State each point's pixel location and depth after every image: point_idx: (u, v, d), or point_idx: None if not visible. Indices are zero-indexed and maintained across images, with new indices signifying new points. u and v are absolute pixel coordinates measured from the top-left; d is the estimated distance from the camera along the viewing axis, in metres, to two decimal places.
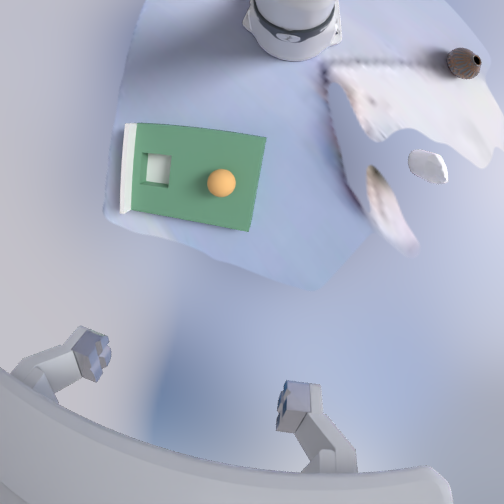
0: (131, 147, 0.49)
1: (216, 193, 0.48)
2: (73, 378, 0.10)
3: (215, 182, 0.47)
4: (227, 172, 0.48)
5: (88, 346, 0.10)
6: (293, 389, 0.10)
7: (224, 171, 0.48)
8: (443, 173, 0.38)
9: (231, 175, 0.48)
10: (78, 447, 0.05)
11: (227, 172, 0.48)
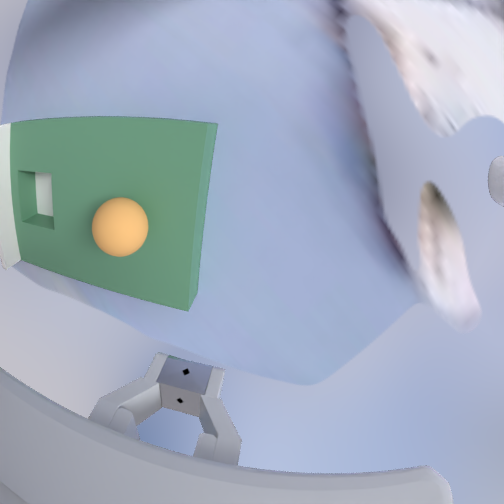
0: (2, 164, 0.22)
1: (106, 252, 0.21)
2: (153, 410, 0.10)
3: (98, 230, 0.20)
4: (124, 206, 0.21)
5: (176, 376, 0.10)
6: (193, 370, 0.10)
7: (118, 204, 0.21)
8: None
9: (134, 212, 0.21)
10: (78, 447, 0.05)
11: (124, 207, 0.21)
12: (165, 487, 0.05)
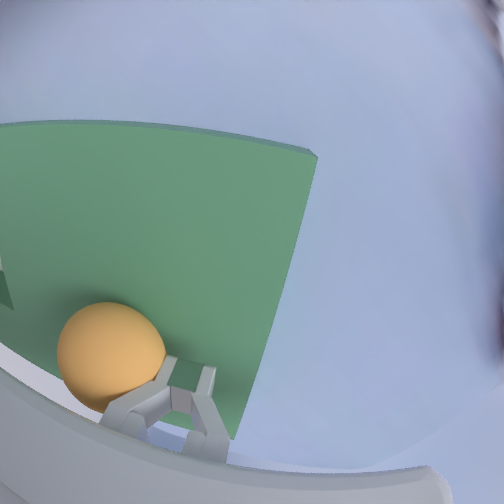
0: None
1: None
2: (163, 413, 0.10)
3: (68, 383, 0.08)
4: (115, 343, 0.09)
5: (186, 378, 0.10)
6: (184, 367, 0.10)
7: (101, 337, 0.09)
8: None
9: (137, 355, 0.09)
10: (78, 447, 0.05)
11: (114, 346, 0.09)
12: (165, 487, 0.05)
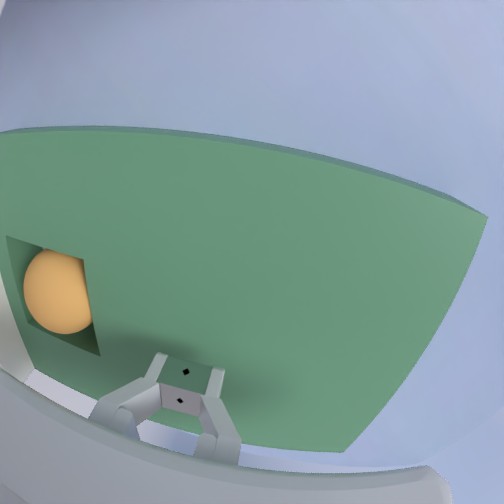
0: None
1: None
2: (153, 410, 0.10)
3: None
4: None
5: (176, 376, 0.10)
6: (193, 370, 0.10)
7: None
8: None
9: None
10: (78, 447, 0.05)
11: None
12: (165, 487, 0.05)
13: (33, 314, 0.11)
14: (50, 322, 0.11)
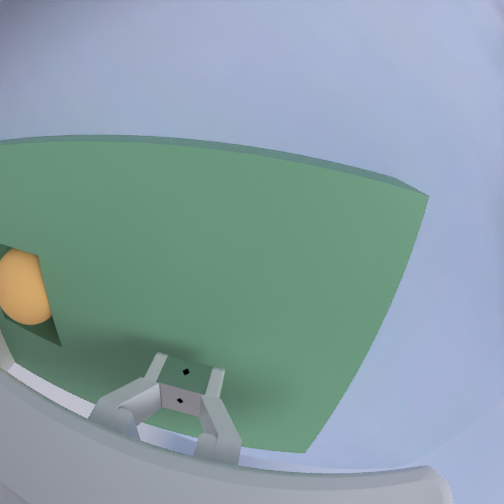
0: None
1: None
2: (153, 410, 0.10)
3: None
4: None
5: (176, 376, 0.10)
6: (193, 370, 0.10)
7: None
8: None
9: None
10: (78, 447, 0.05)
11: None
12: (165, 487, 0.05)
13: (1, 305, 0.12)
14: (13, 312, 0.12)
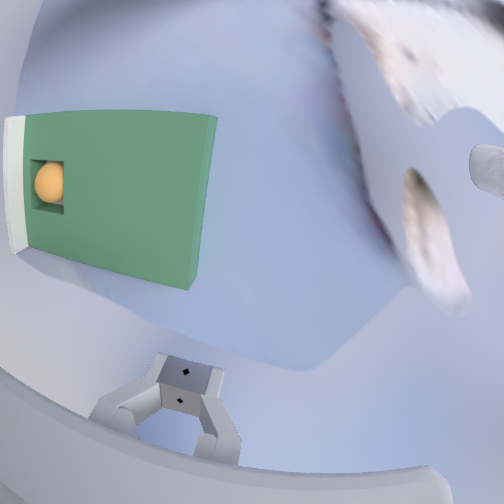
0: (16, 153, 0.25)
1: None
2: (153, 410, 0.10)
3: None
4: None
5: (176, 376, 0.10)
6: (193, 370, 0.10)
7: None
8: None
9: None
10: (78, 447, 0.05)
11: None
12: (165, 487, 0.05)
13: (36, 188, 0.26)
14: (43, 190, 0.26)
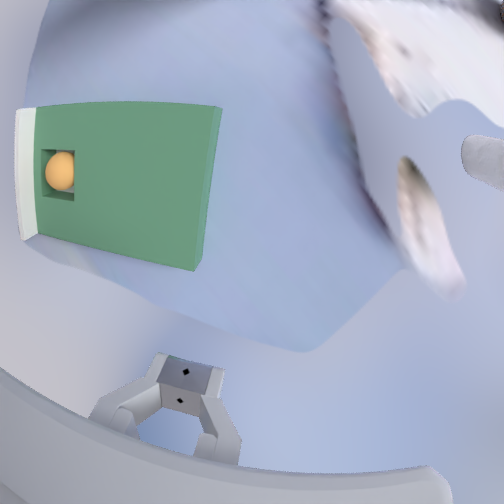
0: (27, 143, 0.26)
1: None
2: (153, 410, 0.10)
3: None
4: None
5: (176, 376, 0.10)
6: (193, 370, 0.10)
7: None
8: None
9: None
10: (78, 447, 0.05)
11: None
12: (165, 487, 0.05)
13: (47, 176, 0.27)
14: (54, 177, 0.27)
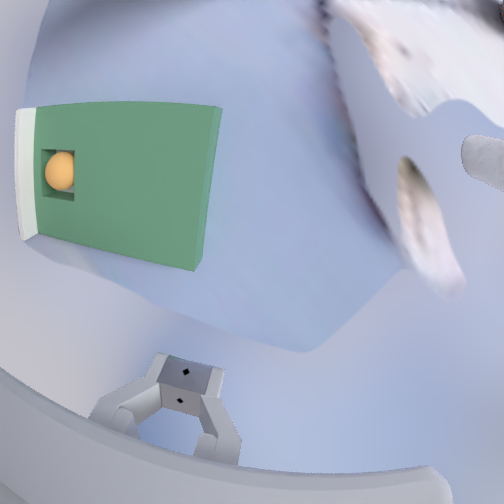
0: (27, 143, 0.26)
1: None
2: (153, 410, 0.10)
3: None
4: None
5: (176, 376, 0.10)
6: (193, 370, 0.10)
7: None
8: None
9: None
10: (78, 447, 0.05)
11: None
12: (165, 487, 0.05)
13: (47, 176, 0.27)
14: (53, 177, 0.27)
